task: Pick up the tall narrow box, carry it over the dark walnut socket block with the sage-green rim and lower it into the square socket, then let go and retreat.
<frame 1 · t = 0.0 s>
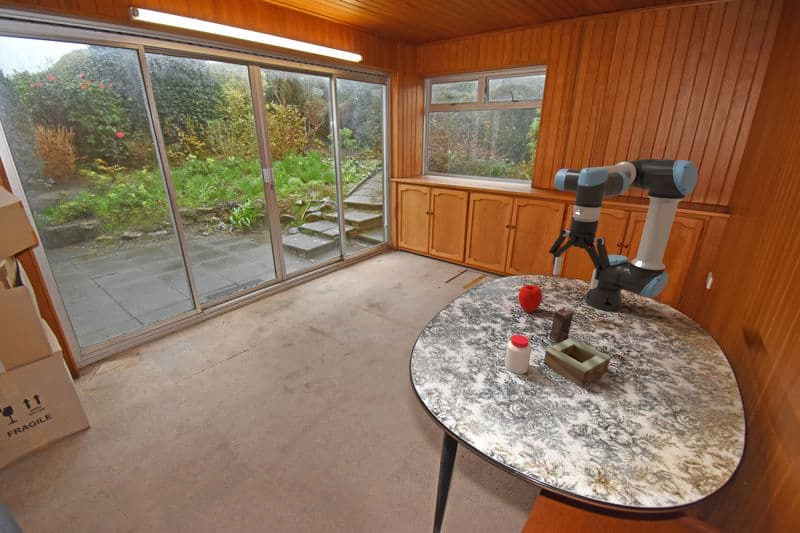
hand: (573, 280, 117), 28 cm above the table, fingers open, 13 cm apart
socket block: (574, 368, 118), on the table
box: (558, 339, 134), on the table
pill bottle: (516, 367, 119), on the table
apple: (528, 310, 156), on the table
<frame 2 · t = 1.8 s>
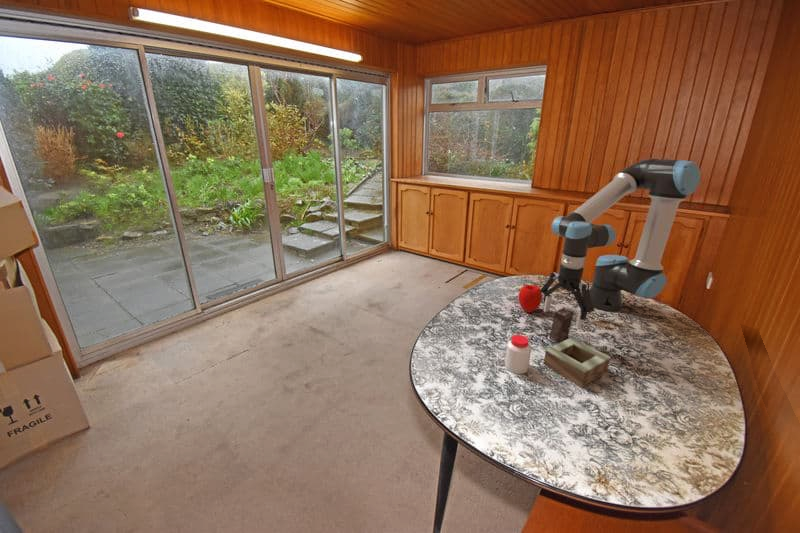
hand: (561, 318, 131), 9 cm above the table, fingers open, 13 cm apart
nothing on the table moved.
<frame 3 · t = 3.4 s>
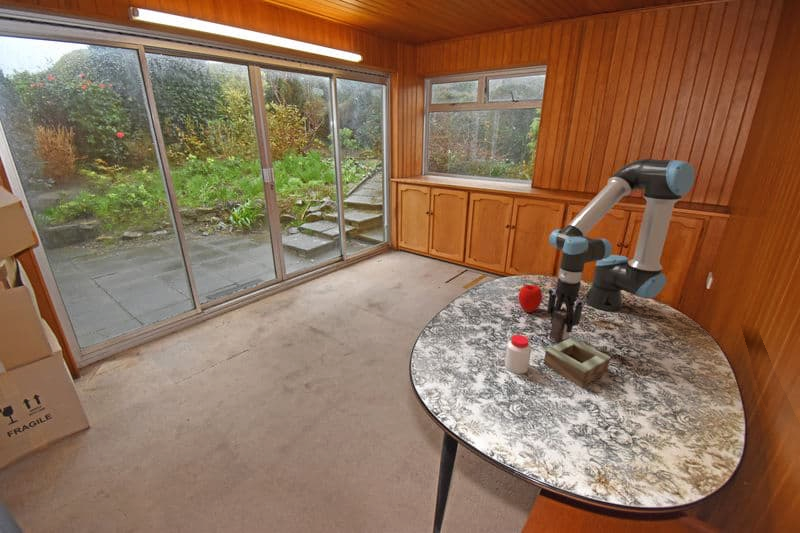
hand: (559, 335, 134), 2 cm above the table, fingers closed on box, 4 cm apart
box: (558, 339, 134), on the table, touching gripper
everything else where it was.
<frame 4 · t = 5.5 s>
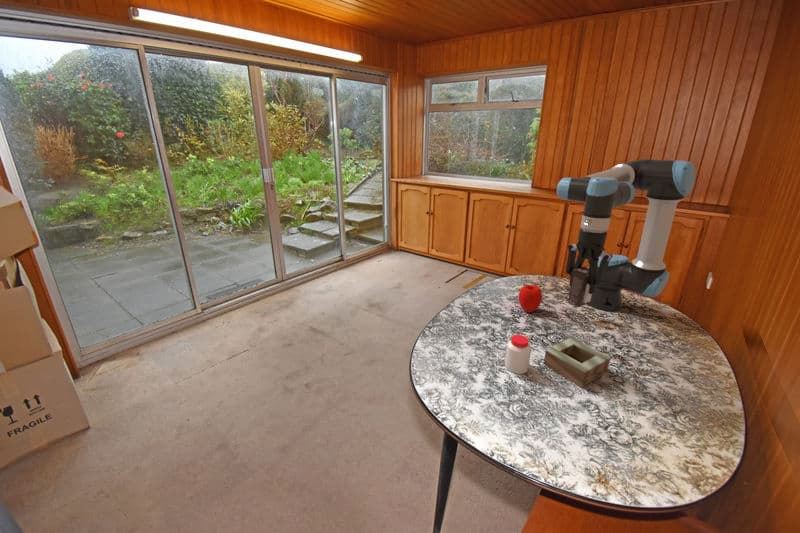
hand: (579, 298, 114), 24 cm above the table, fingers closed on box, 4 cm apart
box: (578, 303, 115), point 22 cm above the table, touching gripper
everything else where it was.
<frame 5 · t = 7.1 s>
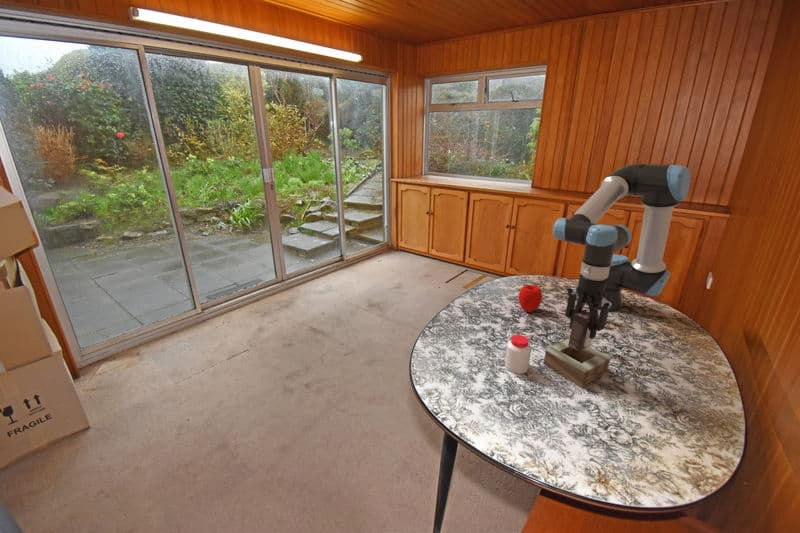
hand: (580, 341, 114), 11 cm above the table, fingers closed on box, 4 cm apart
box: (579, 346, 115), point 9 cm above the table, touching gripper
everything else where it was.
when the fingers open (7 cm above the table, at t = 8.1 s): box drops 5 cm, resting in socket block.
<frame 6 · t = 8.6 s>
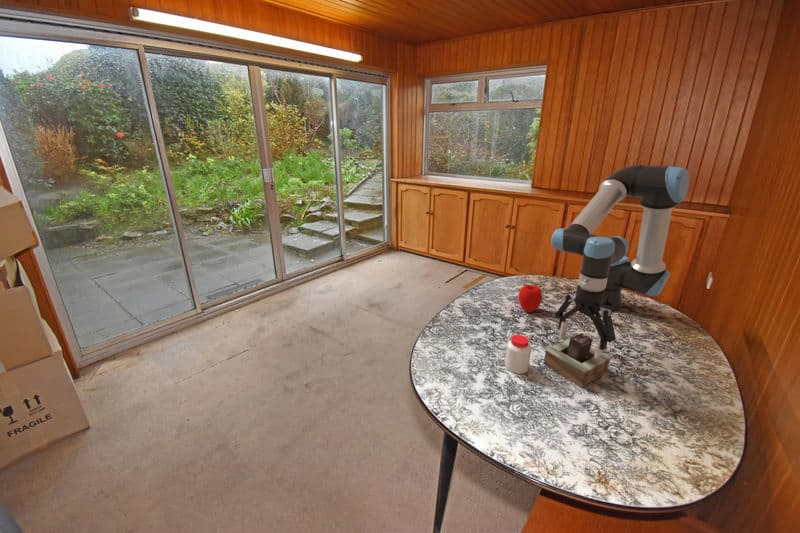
hand: (579, 346, 115), 9 cm above the table, fingers open, 12 cm apart
box: (574, 368, 118), resting in socket block
everything else where it was.
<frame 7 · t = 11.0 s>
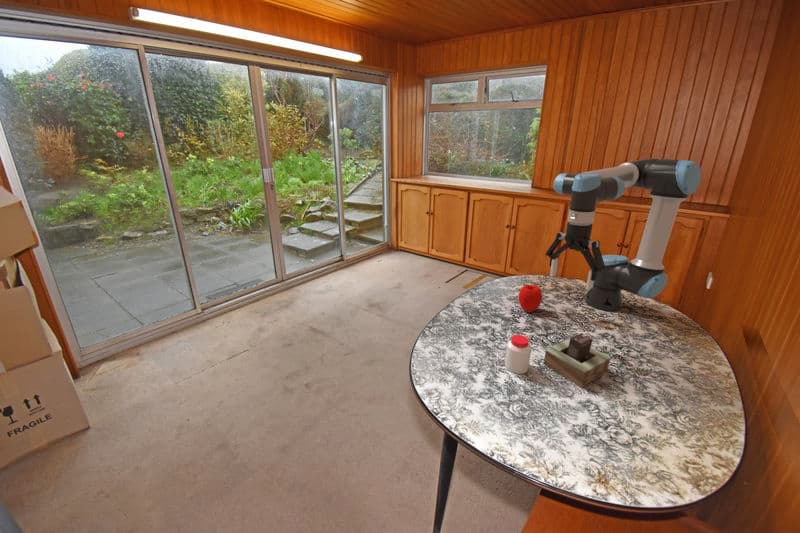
hand: (570, 281, 122), 26 cm above the table, fingers open, 13 cm apart
nothing on the table moved.
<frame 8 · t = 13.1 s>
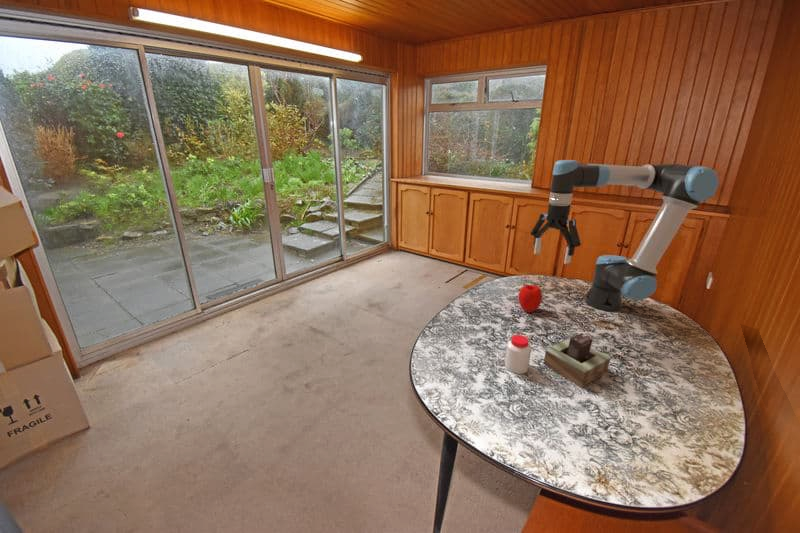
hand: (551, 258, 136), 29 cm above the table, fingers open, 13 cm apart
nothing on the table moved.
at the end: box 0.1 cm off-centre on the socket block, point 0.0 cm above the socket block's base; box tilted 0°; the gripper is holding nothing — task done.
